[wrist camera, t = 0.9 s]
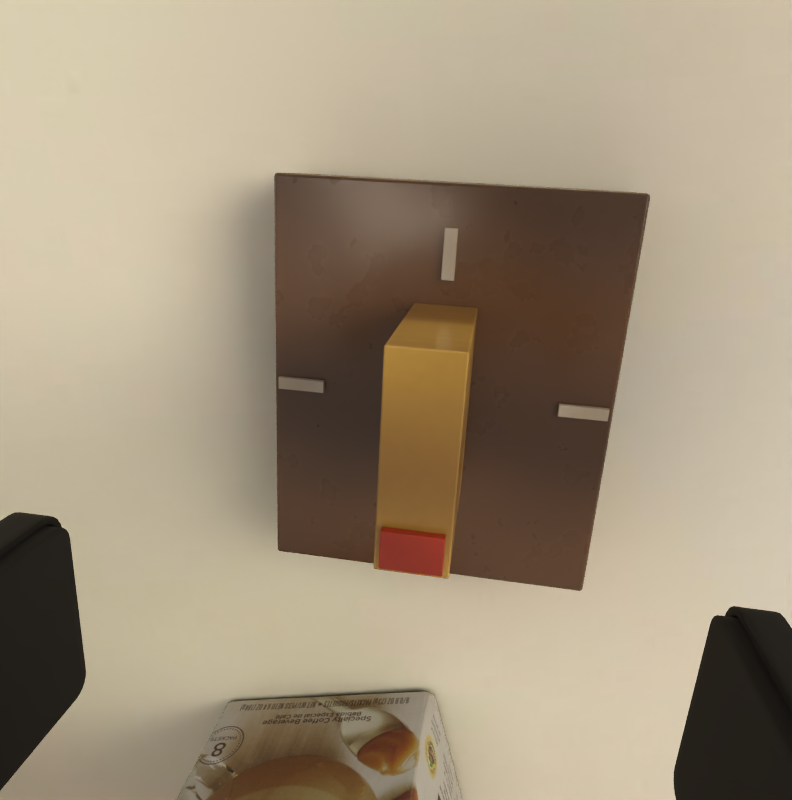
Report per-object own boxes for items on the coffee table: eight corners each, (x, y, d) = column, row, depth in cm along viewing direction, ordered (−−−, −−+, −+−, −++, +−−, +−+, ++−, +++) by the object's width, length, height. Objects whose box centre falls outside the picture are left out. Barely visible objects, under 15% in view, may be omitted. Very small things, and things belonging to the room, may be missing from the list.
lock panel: (299, 173, 20) (271, 172, 18) (632, 192, 19) (652, 193, 16) (298, 515, 24) (275, 554, 22) (574, 549, 23) (582, 595, 20)
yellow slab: (413, 302, 18) (381, 347, 13) (477, 307, 18) (469, 355, 13) (402, 478, 20) (371, 574, 15) (460, 485, 20) (448, 585, 15)
